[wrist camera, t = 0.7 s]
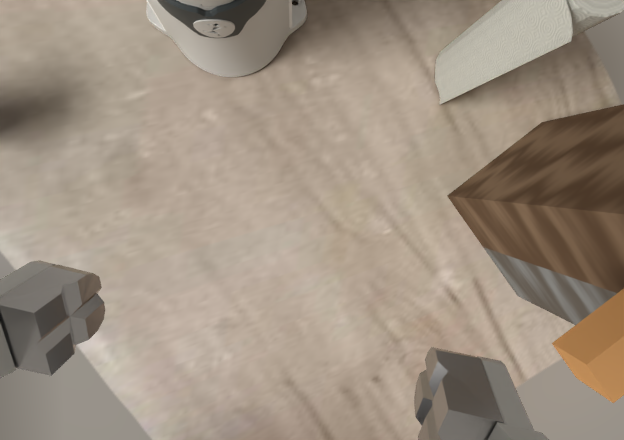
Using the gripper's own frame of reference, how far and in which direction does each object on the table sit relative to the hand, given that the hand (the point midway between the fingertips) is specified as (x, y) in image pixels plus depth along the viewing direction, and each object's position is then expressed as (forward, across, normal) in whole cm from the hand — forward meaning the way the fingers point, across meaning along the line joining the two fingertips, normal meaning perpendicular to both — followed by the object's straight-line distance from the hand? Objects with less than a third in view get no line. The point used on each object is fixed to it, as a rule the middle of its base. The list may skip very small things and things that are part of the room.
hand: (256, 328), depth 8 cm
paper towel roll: (+45, -12, -6) cm, 47 cm away
